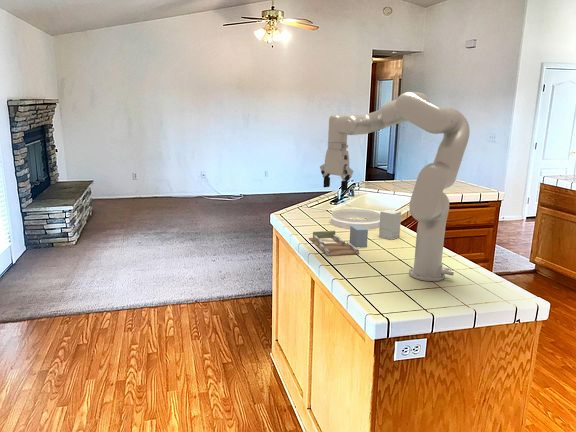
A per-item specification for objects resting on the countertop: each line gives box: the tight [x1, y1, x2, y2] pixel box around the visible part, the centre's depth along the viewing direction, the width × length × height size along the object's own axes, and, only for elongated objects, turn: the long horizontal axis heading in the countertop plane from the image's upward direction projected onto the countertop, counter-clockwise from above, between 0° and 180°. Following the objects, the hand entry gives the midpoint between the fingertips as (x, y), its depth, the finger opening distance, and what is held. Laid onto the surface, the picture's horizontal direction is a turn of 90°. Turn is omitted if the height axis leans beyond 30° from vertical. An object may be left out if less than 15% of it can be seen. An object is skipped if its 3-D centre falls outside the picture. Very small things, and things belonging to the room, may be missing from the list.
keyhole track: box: [308, 230, 360, 257], centre depth 200 cm, size 26×14×3 cm, turn 14°
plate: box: [329, 208, 380, 231], centre depth 241 cm, size 27×27×6 cm
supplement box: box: [378, 208, 402, 241], centre depth 215 cm, size 7×7×13 cm
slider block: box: [349, 225, 369, 249], centre depth 202 cm, size 8×5×8 cm, turn 14°
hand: (335, 188), depth 186 cm, fingers open, 9 cm apart
